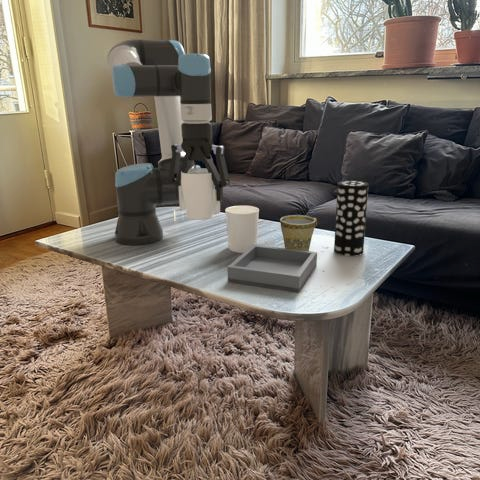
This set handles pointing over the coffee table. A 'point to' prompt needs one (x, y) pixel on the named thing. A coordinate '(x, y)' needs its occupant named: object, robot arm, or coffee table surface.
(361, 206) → the spotted tube
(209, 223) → the coffee table surface
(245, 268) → the tray
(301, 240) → the ceramic cup
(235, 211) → the candle holder
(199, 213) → the cup
